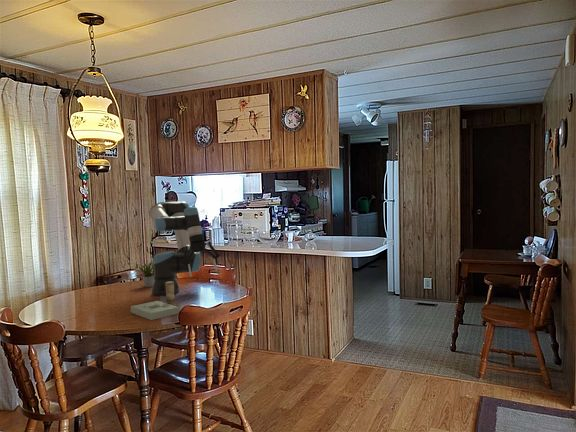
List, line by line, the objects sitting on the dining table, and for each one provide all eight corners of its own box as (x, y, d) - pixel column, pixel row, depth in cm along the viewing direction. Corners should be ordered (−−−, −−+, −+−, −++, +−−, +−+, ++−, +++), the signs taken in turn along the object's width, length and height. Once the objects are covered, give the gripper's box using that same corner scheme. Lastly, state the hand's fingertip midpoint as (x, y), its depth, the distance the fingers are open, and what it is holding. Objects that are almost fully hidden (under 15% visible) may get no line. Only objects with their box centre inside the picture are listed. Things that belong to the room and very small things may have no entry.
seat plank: (130, 312, 211) (130, 306, 211) (157, 306, 221) (157, 300, 221) (151, 320, 197) (150, 313, 197) (178, 313, 207) (178, 307, 207)
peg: (164, 306, 222) (163, 282, 221) (172, 304, 225) (171, 281, 224) (169, 307, 219) (168, 283, 218) (176, 305, 222) (175, 282, 221)
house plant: (159, 282, 285) (158, 257, 284) (165, 285, 273) (163, 259, 272) (136, 285, 278) (135, 259, 277) (141, 288, 266) (140, 261, 265)
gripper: (172, 238, 231) (180, 278, 227) (219, 229, 239) (227, 267, 235) (172, 241, 238) (179, 279, 234) (217, 232, 246) (225, 269, 242)
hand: (203, 273), depth 235 cm, fingers open, 13 cm apart
